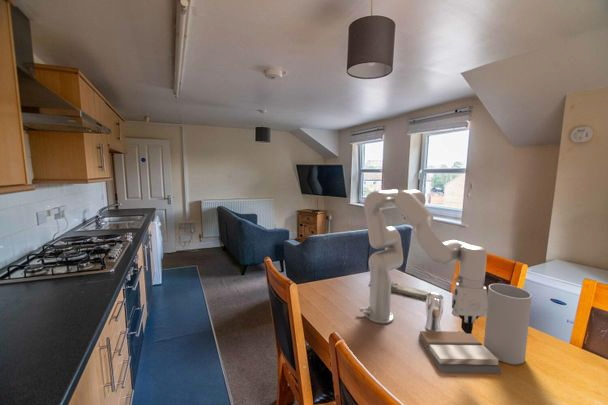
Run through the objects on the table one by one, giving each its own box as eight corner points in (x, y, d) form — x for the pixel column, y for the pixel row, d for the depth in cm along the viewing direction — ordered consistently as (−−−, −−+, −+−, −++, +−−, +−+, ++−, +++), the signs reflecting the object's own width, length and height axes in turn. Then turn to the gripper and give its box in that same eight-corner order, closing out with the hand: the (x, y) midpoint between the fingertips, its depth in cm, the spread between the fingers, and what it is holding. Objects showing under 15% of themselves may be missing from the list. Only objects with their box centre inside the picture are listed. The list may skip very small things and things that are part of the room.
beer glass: (440, 325, 118) (442, 293, 117) (443, 334, 112) (445, 300, 110) (423, 322, 121) (425, 291, 119) (425, 331, 114) (427, 298, 112)
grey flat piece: (442, 372, 91) (442, 362, 90) (418, 338, 109) (419, 329, 109) (501, 373, 90) (502, 363, 90) (467, 338, 109) (468, 330, 109)
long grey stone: (430, 306, 139) (433, 299, 147) (431, 296, 138) (434, 290, 147) (366, 286, 159) (372, 281, 167) (367, 277, 158) (373, 273, 166)
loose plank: (440, 364, 92) (440, 358, 92) (429, 349, 100) (429, 344, 100) (498, 364, 92) (498, 359, 92) (482, 350, 100) (483, 345, 100)
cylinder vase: (527, 370, 92) (535, 302, 89) (484, 357, 98) (489, 293, 95) (521, 350, 102) (528, 288, 99) (482, 339, 109) (487, 281, 106)
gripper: (455, 286, 87) (450, 337, 90) (500, 286, 87) (495, 338, 89) (443, 276, 95) (439, 324, 97) (485, 277, 95) (480, 325, 97)
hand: (466, 331), depth 93 cm, fingers closed
